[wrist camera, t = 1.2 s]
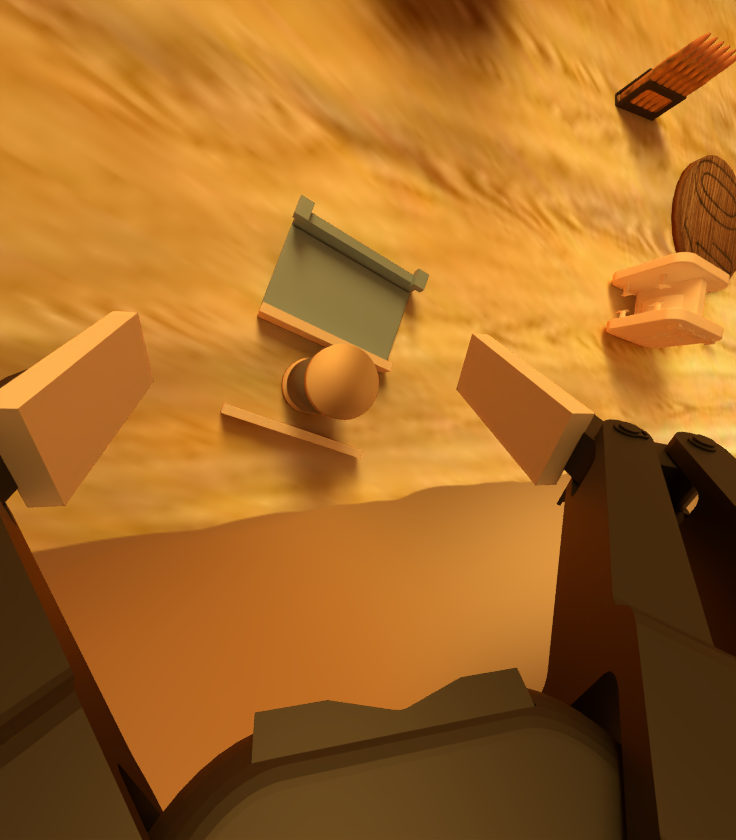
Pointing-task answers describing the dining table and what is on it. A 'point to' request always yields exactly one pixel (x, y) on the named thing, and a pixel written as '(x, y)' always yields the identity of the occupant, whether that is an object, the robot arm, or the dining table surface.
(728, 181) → the trivet
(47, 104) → the dining table surface
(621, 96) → the ammunition clip
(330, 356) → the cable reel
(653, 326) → the cable organizer
